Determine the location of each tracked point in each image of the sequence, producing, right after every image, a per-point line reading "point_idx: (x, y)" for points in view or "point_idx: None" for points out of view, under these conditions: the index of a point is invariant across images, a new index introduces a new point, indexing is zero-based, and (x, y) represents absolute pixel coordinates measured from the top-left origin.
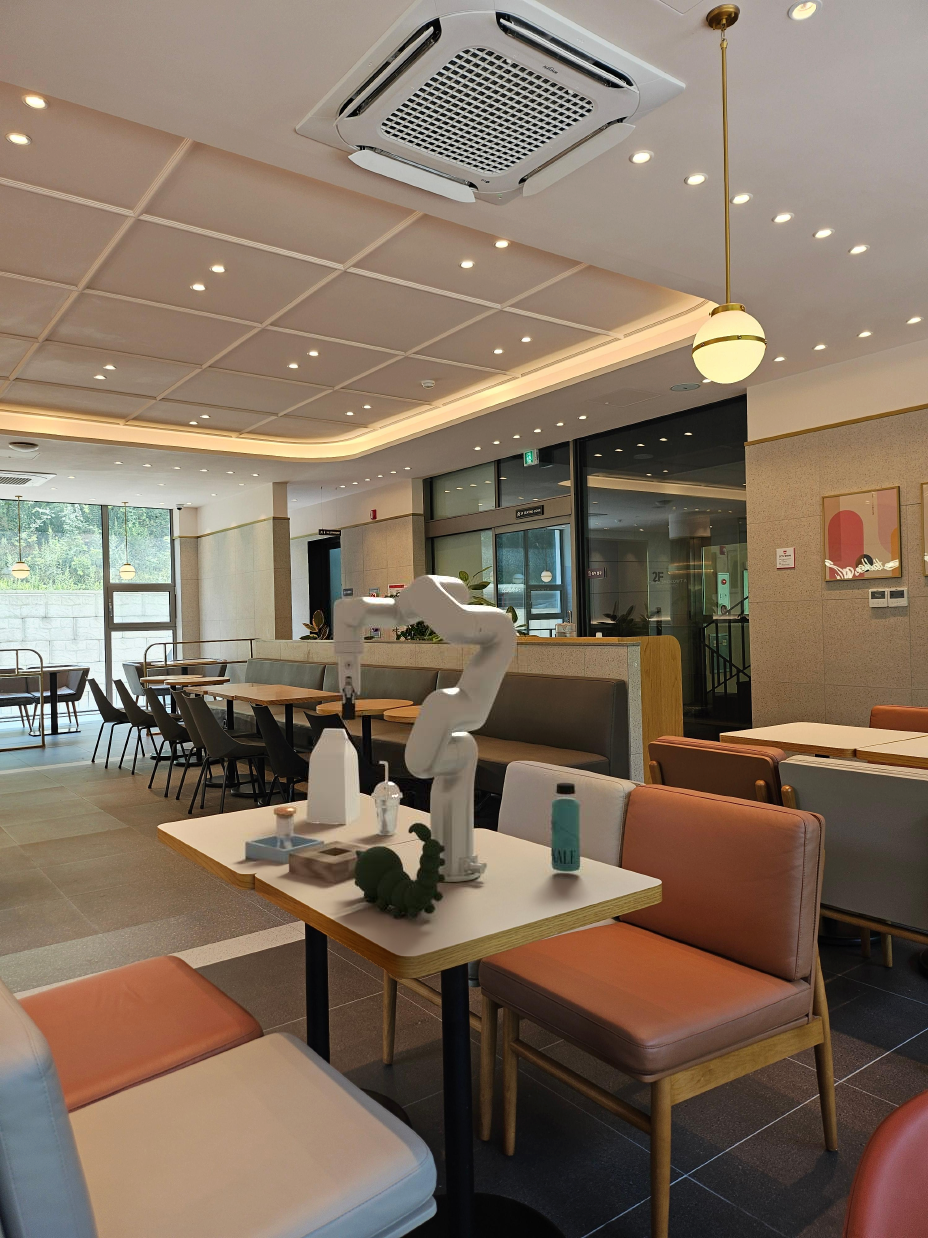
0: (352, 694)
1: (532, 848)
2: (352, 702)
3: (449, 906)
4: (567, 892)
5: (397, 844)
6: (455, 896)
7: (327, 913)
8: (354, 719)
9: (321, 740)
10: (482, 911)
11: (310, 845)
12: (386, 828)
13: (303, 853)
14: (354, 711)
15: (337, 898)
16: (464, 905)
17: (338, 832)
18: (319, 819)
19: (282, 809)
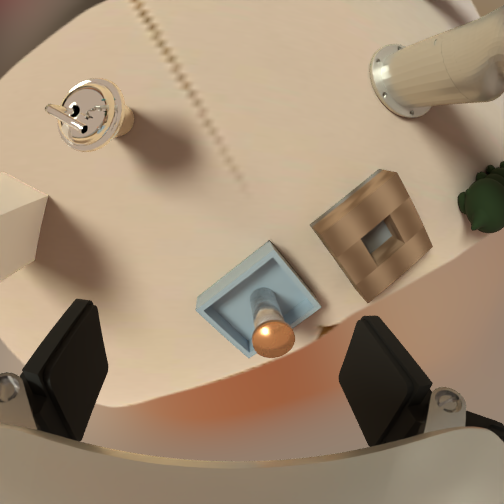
0: (499, 435)
1: None
2: (448, 401)
3: (482, 134)
4: (461, 18)
5: (205, 107)
6: (464, 115)
7: (466, 248)
8: (373, 317)
9: None
10: (494, 114)
11: (292, 271)
12: (131, 120)
13: (376, 284)
14: (399, 348)
15: (439, 236)
16: (482, 120)
17: (94, 208)
18: (34, 241)
19: (279, 345)
